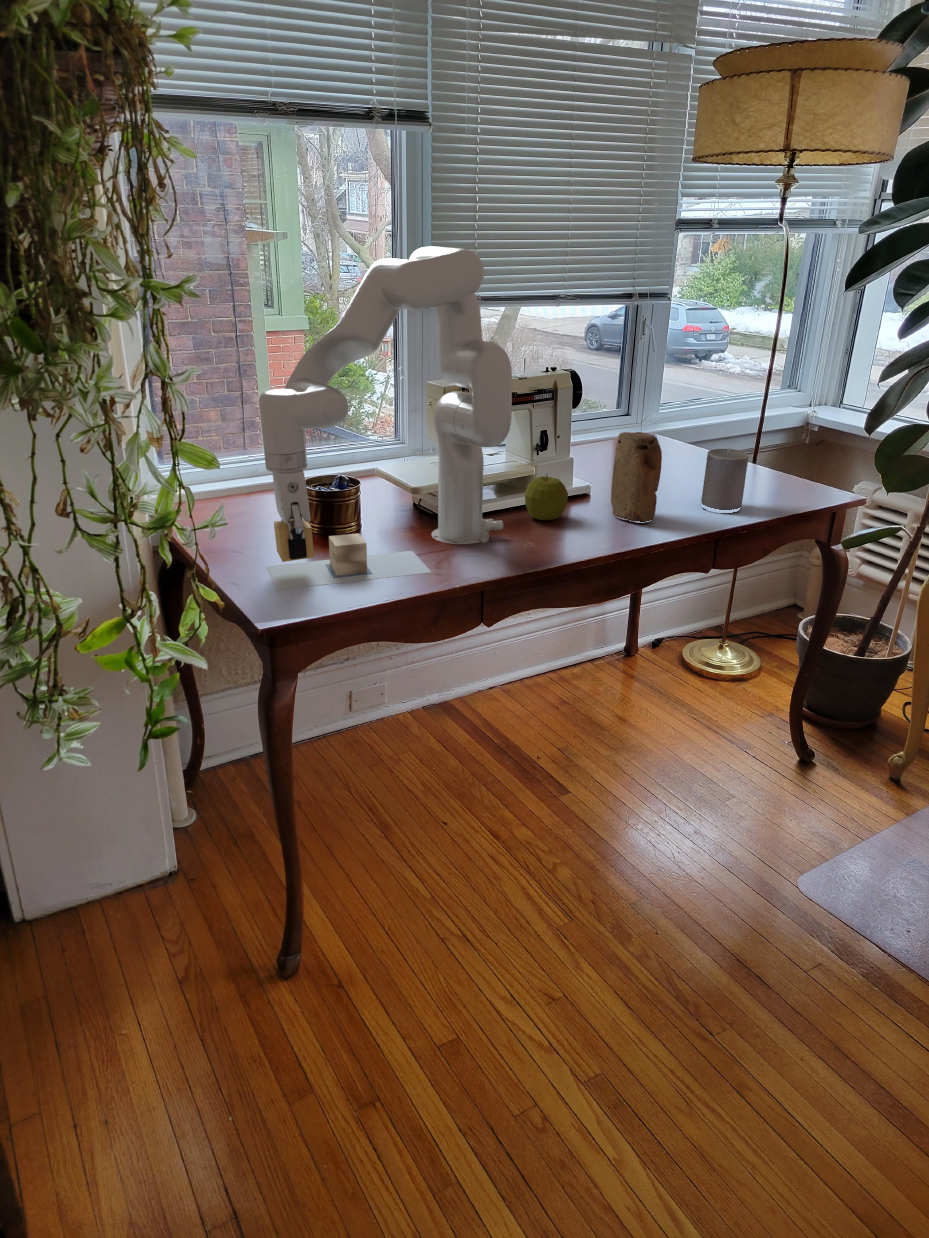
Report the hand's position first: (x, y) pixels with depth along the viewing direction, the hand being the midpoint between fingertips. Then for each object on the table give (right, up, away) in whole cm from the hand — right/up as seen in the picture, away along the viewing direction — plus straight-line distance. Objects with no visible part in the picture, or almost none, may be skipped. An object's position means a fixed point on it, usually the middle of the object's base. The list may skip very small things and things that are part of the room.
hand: (295, 551), depth 175 cm
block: (+72, +11, +42) cm, 84 cm away
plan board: (+10, -4, +5) cm, 12 cm away
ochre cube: (0, -1, 0) cm, 1 cm away
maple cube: (+10, -3, +5) cm, 11 cm away
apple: (+51, +10, +40) cm, 66 cm away
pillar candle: (+95, +14, +51) cm, 109 cm away
